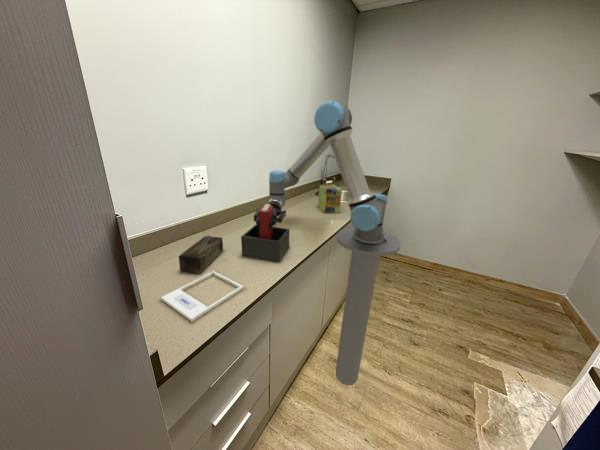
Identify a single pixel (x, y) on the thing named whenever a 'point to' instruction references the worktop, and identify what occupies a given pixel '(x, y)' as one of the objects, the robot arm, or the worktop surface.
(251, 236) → the bin
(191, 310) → the photo frame
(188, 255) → the dark brown wooden block
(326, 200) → the protein box
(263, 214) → the block
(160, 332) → the worktop surface
